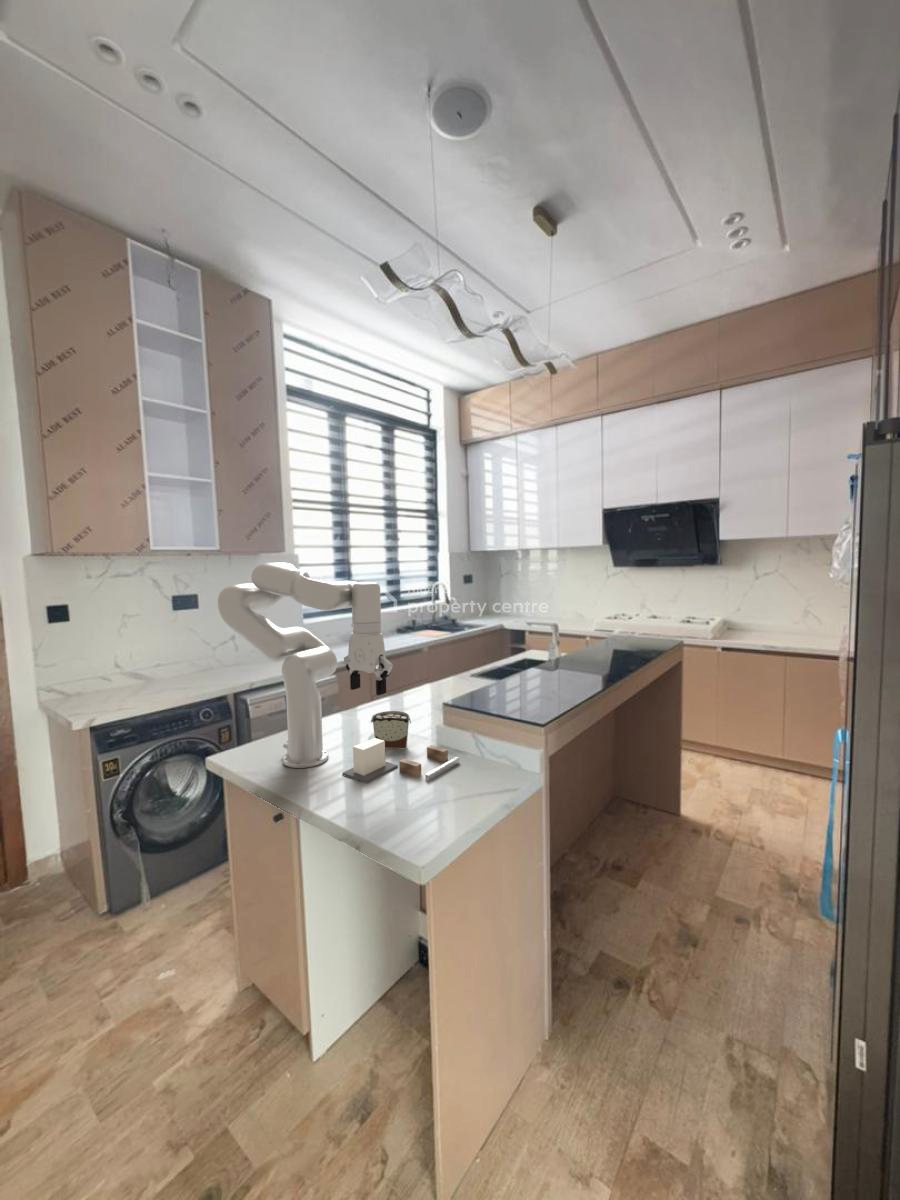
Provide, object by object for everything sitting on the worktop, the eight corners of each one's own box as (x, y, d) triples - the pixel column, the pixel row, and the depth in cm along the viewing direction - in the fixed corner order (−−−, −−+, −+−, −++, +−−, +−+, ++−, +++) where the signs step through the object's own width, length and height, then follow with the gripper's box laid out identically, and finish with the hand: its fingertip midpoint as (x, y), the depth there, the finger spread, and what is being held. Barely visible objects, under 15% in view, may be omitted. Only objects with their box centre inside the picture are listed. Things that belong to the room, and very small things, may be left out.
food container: (414, 741, 155) (413, 710, 154) (411, 749, 149) (410, 716, 148) (376, 740, 156) (375, 710, 156) (371, 747, 150) (370, 716, 149)
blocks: (399, 771, 133) (399, 761, 132) (431, 755, 144) (431, 745, 144) (428, 781, 127) (428, 769, 127) (459, 762, 138) (459, 752, 138)
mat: (342, 774, 131) (342, 772, 131) (374, 759, 141) (374, 757, 141) (366, 783, 126) (366, 781, 126) (397, 767, 136) (397, 765, 136)
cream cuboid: (353, 772, 131) (352, 746, 131) (375, 762, 138) (374, 737, 137) (364, 775, 129) (363, 749, 129) (385, 765, 136) (384, 740, 135)
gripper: (334, 627, 132) (335, 689, 134) (380, 632, 122) (381, 699, 124) (354, 624, 139) (355, 684, 140) (400, 629, 129) (401, 693, 130)
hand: (368, 691), depth 132 cm, fingers open, 9 cm apart
